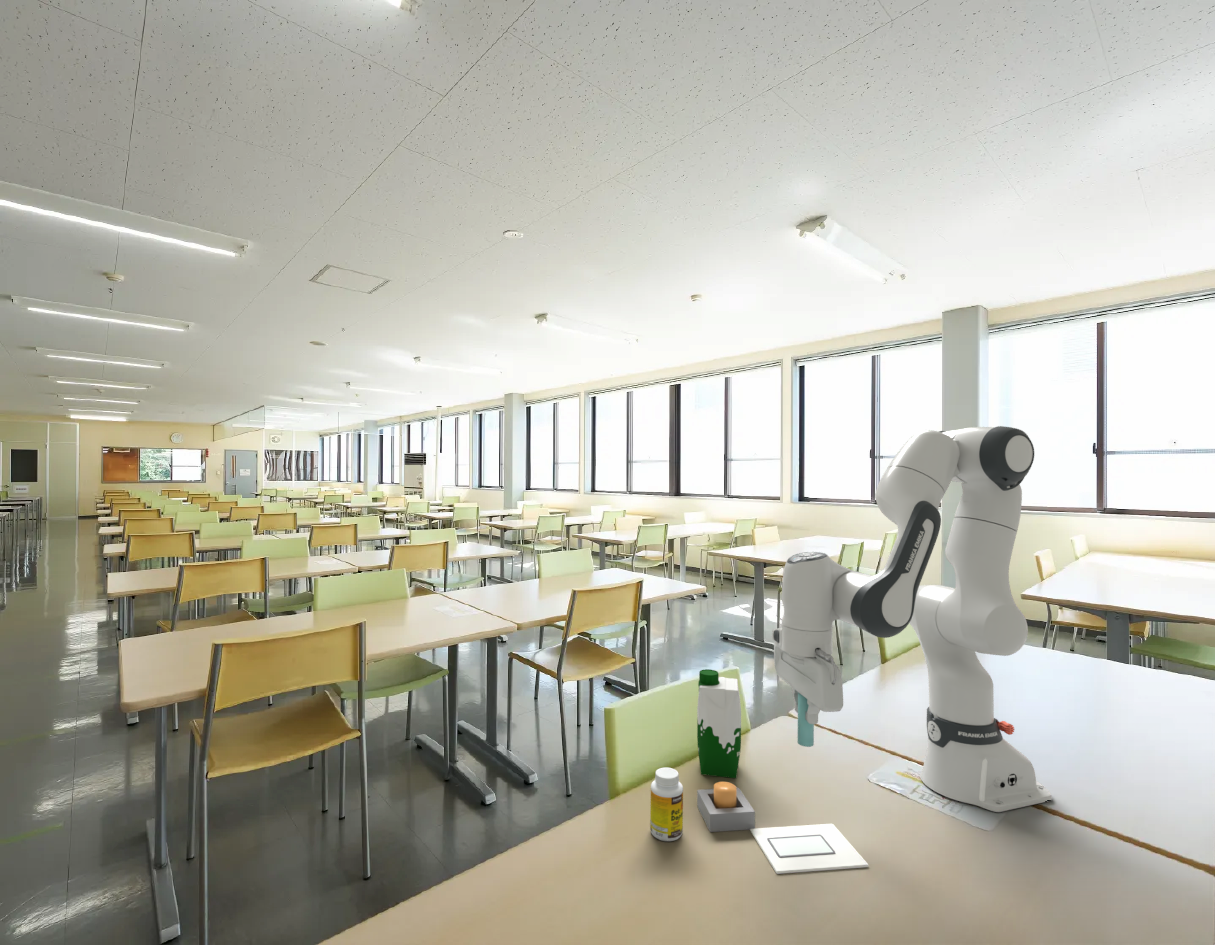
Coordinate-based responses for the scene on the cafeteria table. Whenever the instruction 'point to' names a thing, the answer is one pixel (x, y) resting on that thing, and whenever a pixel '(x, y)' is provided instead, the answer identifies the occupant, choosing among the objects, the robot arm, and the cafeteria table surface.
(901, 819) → the cafeteria table surface
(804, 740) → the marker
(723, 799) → the button
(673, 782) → the supplement bottle
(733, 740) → the milk carton
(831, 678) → the robot arm
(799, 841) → the worksheet
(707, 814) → the button housing
